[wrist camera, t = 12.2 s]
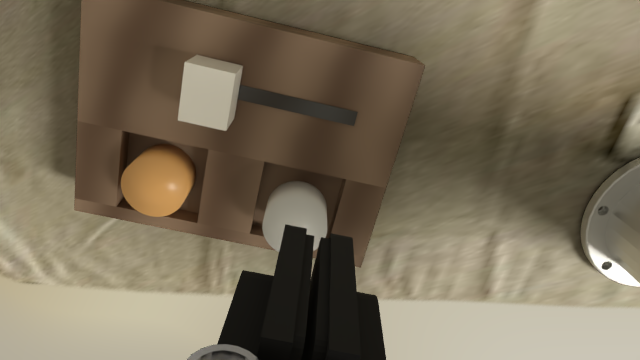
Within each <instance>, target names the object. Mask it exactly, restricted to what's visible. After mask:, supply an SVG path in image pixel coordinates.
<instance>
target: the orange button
mask: <svg viewBox="0 0 640 360" xmlns="http://www.w3.org/2000/svg"><path fill="white" fill-rule="evenodd" d="M195 181H196V169H195V166H194V163H193V161H192V160H191V158H190V157H189V156H188V155H187V154H186V153H185V152H184V151H183V150H181V149H179V148H178V147H175V146H172V145H168V144H157V145H153V146H151V147H149V148H147V149H146V150H145V151H143V152H142V153H141V154H140V155H139V156H138V157H137V158H136V159H135V160H134V161H133V162H132V163H131V164H130V165H129V166H128V167H127V168H126V169H125V171H124V172H123V175H122V178H121V189H122V193H123V195H124V197H125V199H126V201H127V202H128V203H129V204H130V205H131V206H132V207H133V208H134V209H135V210H137V211H138V212H140V213H142V214H145V215H148V216H153V217H163V216H167V215H170V214H172V213H174V212H175V211H177V210H178V209H179V208H180V207H181V205H182V204H183V202H184V201H185V199H186V197H187V196H188V194H189V192H190V191H191V189H192V188H193V186H194V184H195Z"/></svg>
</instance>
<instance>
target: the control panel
mask: <svg viewBox="0 0 640 360" xmlns="http://www.w3.org/2000/svg"><path fill="white" fill-rule="evenodd" d="M196 55H200V56H204V57H208V58H213V59H217V60H221V61H225V62H230V63H234V64H238V65H242V66H243V70H242V75H241V81H240V87H239V93H238V99H237V105H236V111H235V117H234V119H233V121H232V123H231V124H230V126H229V127H228V129H227V131H223V130H219V129H214V128H210V127H205V126H201V125H196V124H192V123H187V122H183V121H178V113H179V104H180V96H181V88H182V79H183V71H184V63H185V61H187V60H189V59H191V58H192V57H194V56H196ZM424 68H425V65H424V64H422V63H421V62H420V61H418V60H417V59H416V58H414V57H412V56H408V55H403V54H399V53H395V52H391V51H387V50H383V49H379V48H375V47H371V46H367V45H363V44H359V43H355V42H351V41H347V40H343V39H339V38H335V37H331V36H327V35H322V34H318V33H314V32H310V31H306V30H302V29H298V28H294V27H290V26H286V25H282V24H278V23H274V22H270V21H266V20H262V19H258V18H254V17H250V16H246V15H241V14H237V13H233V12H229V11H225V10H221V9H217V8H213V7H209V6H205V5H201V4H197V3H193V2H189V1H185V0H81V26H80V56H79V85H78V115H77V145H76V175H75V204H74V210H76V211H81V212H86V213H91V214H96V215H101V216H106V217H111V218H116V219H121V220H126V221H131V222H136V223H141V224H146V225H151V226H156V227H161V228H166V229H171V230H176V231H181V232H186V233H191V234H196V235H201V236H206V237H211V238H216V239H221V240H226V241H231V242H236V243H241V244H246V245H251V246H256V247H261V248H266V249H271V250H275V249H273V248H272V247H271V246H270V245H269V244H268V242H267V241H266V239H265V237H264V234H263V229H262V225H263V219H264V215H265V210H266V206H267V202H268V199H269V196H270V195H271V193H272V192H273V191H274V190H275V189H276V188H277V187H278V186H280V185H282V184H284V183H286V182H290V181H302V182H306V183H309V184H311V185H313V186H314V187H316V188H317V189H318V190H319V191H320V192H321V193H322V195H323V196H324V198H325V201H326V206H327V235H326V237H325V238H328V239H329V236H330V233H333V234H338V235H343V236H348V237H352V238H353V249H354V263H355V266H356V267H361V265H362V262H363V259H364V256H365V253H366V250H367V246H368V243H369V240H370V237H371V234H372V231H373V228H374V225H375V221H376V218H377V215H378V212H379V209H380V206H381V203H382V199H383V196H384V193H385V190H386V187H387V184H388V181H389V178H390V174H391V171H392V168H393V165H394V162H395V159H396V156H397V153H398V149H399V146H400V143H401V140H402V137H403V134H404V131H405V128H406V124H407V121H408V118H409V115H410V112H411V109H412V106H413V102H414V99H415V96H416V93H417V90H418V87H419V84H420V81H421V77H422V74H423V71H424ZM157 144H168V145H172V146H175V147H178V148H179V149H181V150H183V151H184V152H185V153H186V154H187V155H188V156H189V157H190V158H191V160H192V161H193V163H194V166H195V169H196V181H195V184H194V186H193V188H192V189H191V191H190V192H189V194H188V196H187V197H186V199H185V201H184V202H183V204H182V205H181V207H180V208H179V209H178V210H177V211H175V212H174V213H172V214H170V215H167V216H163V217H153V216H148V215H145V214H142V213H140V212H138V211H137V210H135V209H134V208H133V207H132V206H131V205H130V204H129V203H128V202H127V201H126V199H125V197H124V195H123V193H122V189H121V178H122V175H123V172H124V171H125V169H126V168H127V167H128V166H129V165H130V164H131V163H132V162H133V161H134V160H135V159H136V158H137V157H138V156H139V155H140V154H141V153H142V152H143V151H145V150H146V149H147V148H149V147H151V146H153V145H157ZM317 251H318V248H317V249H316V250H315V251H313V258H316V255H317Z"/></svg>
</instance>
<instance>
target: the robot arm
mask: <svg viewBox="0 0 640 360" xmlns="http://www.w3.org/2000/svg"><path fill="white" fill-rule="evenodd" d="M306 232H307V228H302V227H297V226H292V225H286V224H285V228H284V232H283V237H282V242H281V246H280V251H279V255H278V260H277V264H276V269H275V274H274V276H270V275H265V274H260V273H255V272H249V271H244V270H243V271H242V273H241V276H240V279H239V282H238V285H237V288H236V291H235V294H234V297H233V300H232V303H231V306H230V308H229V311H228V314H227V318H226V320H225V323H224V326H223V329H222V332H221V335H220V338H219V341H218V344H217V345H211V346H208V347H204V348H201V349H200V350H198V351H196V352H195V353H193V354H191V356H190V357H189V358H188V359H187V360H386V355H385V348H384V341H383V333H382V326H381V319H380V312H379V305H378V299H377V296H375V295H371V294H365V293H360V292H356V277H355V263H354V249H353V238H352V237H348V236H343V235H338V234H333V233H330V236H329V239H328V238H323V237H321V239H320V242H319V247H318V251H317V255H316V259H315V264H314V268H313V272H312V277H311V269H312V258H313V246H314V236H312V235H307V234H306ZM580 233H581V244H582V247H583V250H584V253H585V255H586V256H587V258H588V259H589V261H590V262H591V264H592V265H593V266H594V267H595V268H596V269H597V270H598V271H599V272H600V273H601V274H603V275H604V276H606V277H607V278H608V279H610V280H612V281H615V282H617V283H619V284H623V285H628V286H633V287H640V158H637V159H635V160H633V161H631V162H629V163H628V164H626V165H625V166H623V167H622V168H620V169H619V170H617V171H616V172H614V173H613V174H612V175H611V176H610V177H609V178H608V179H607V180H606V181H605V182H603V184H602V185H601V186H600V187H599V189H598V190H597V191H596V192H595V193H594V195H593V197H592V198H591V200H590V202H589V204H588V205H587V207H586V210H585V213H584V216H583V219H582V224H581V232H580ZM310 280H311V281H310Z"/></svg>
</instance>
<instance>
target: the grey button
mask: <svg viewBox="0 0 640 360" xmlns="http://www.w3.org/2000/svg"><path fill="white" fill-rule="evenodd" d="M285 224H286V225H292V226H297V227H302V228H307V232H306V234H307V235H312V236H314V246H313V251H315V250H316V249H317V248H318V247H319V242H320V239H321V237H323V238H325V237H326V235H327V206H326V201H325V198H324V196H323V195H322V193H321V192H320V191H319V190H318V189H317V188H316V187H314V186H313V185H311V184H309V183H306V182H302V181H290V182H286V183H284V184H282V185H280V186H278V187H277V188H276V189H275V190H274V191H273V192H272V193H271V195H270V196H269V199H268V202H267V206H266V210H265V215H264V219H263V225H262V229H263V234H264V237H265V239H266V241H267V242H268V244H269V245H270V246H271V247H272V248H273V249H275V250H276V251H278V252H279V251H280V246H281V242H282V237H283V232H284V228H285Z"/></svg>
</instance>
